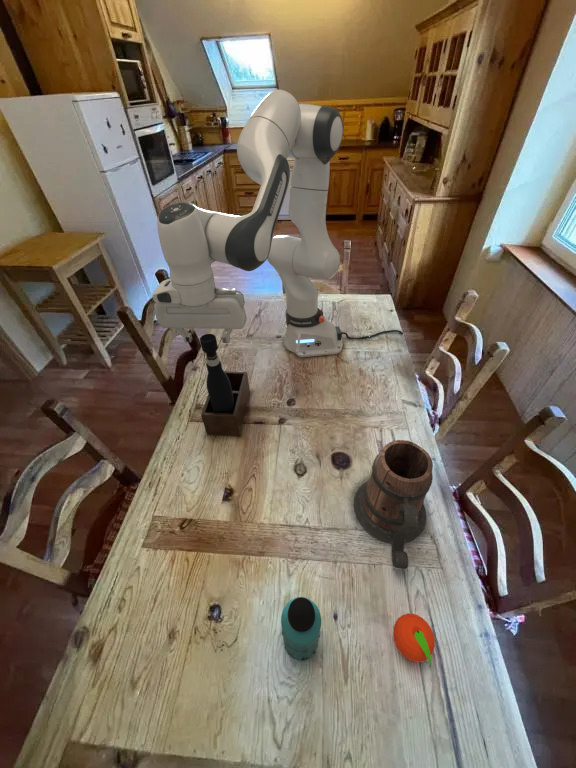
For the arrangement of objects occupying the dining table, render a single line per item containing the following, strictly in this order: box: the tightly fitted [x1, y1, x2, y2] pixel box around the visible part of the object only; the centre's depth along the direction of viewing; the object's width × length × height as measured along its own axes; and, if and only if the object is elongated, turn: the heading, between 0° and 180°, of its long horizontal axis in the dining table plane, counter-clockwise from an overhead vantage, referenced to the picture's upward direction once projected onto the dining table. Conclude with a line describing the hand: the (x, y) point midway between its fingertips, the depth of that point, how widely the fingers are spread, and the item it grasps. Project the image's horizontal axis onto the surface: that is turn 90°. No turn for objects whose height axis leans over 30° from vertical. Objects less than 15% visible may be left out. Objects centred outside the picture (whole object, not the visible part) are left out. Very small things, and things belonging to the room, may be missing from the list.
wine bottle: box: [199, 333, 235, 414], centre depth 92 cm, size 6×6×30 cm
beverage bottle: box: [280, 596, 322, 663], centre depth 56 cm, size 6×7×20 cm
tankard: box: [353, 439, 434, 570], centre depth 72 cm, size 24×17×20 cm
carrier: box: [200, 370, 251, 437], centre depth 103 cm, size 10×19×9 cm, turn 176°
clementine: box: [392, 613, 436, 667], centre depth 60 cm, size 8×7×7 cm
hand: (207, 341), depth 83 cm, fingers open, 8 cm apart
